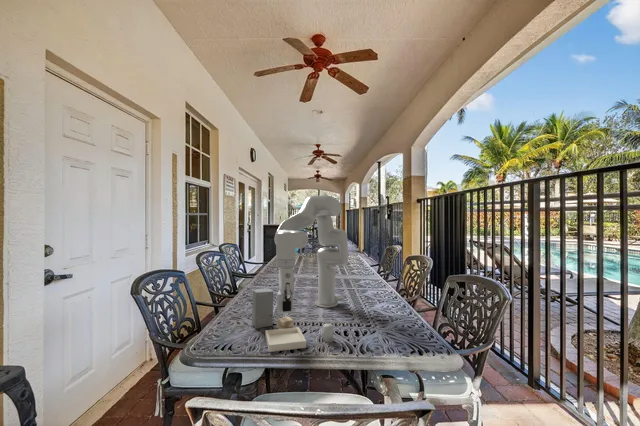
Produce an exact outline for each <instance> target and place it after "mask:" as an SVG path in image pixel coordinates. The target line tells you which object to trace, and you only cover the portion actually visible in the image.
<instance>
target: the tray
mask: <svg viewBox="0 0 640 426" xmlns="http://www.w3.org/2000/svg"><path fill="white" fill-rule="evenodd" d="M264 336H265V340H266V345H267V348H268V353H269V352H270V353H271V352H272V353H273V352H280V351H281V352H282V351H289V350H297V349H305V348H307V340H306V338H305V336H304V334H303V332H302V331H301V329H300V327H299V326H296V327H294V326H293V328H284V329H278V328H276V329H266V330H265V335H264Z"/></svg>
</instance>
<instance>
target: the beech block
mask: <svg viewBox="0 0 640 426" xmlns="http://www.w3.org/2000/svg"><path fill="white" fill-rule="evenodd" d="M284 328H294V319H293V318H291V317H290V316H285V317H284V316H283V317H279V318H277V329H284Z"/></svg>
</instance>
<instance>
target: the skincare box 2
mask: <svg viewBox="0 0 640 426" xmlns="http://www.w3.org/2000/svg"><path fill="white" fill-rule="evenodd" d="M290 292H291V291H290ZM284 293H287V292H286V291H285V292H284ZM276 295H277V296H276V297H277V298H276V301H277V303H276V313H277V314H293V311H294V293H292V292H291V311H286V312H283V301H284V300H283V294H282V293H281V291H280V290H278V292H277V294H276ZM285 296H286V295H285Z"/></svg>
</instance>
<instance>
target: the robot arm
mask: <svg viewBox="0 0 640 426" xmlns="http://www.w3.org/2000/svg"><path fill="white" fill-rule="evenodd" d="M341 212H342V204H341V201H339V199H337V198H335V197H333V196H332V195H331V196H330V195H310V196H307V198H305V200H304V202H303V204H302V205H301V207H300V209H299V210H298V212H297V213H295V214H293V215H291V216H290V217H288V218H286V219H285V220H283V221H282V222H281V223H280V225H279V226H278V228H277V230H276V232H275V235H274V238H273V239H274V241H273V242H274V245H275V248H276V249H275V251H276V252H275V254H276V255H275V268H278V289H279V291H281V293H282V294H283V300H284V301H283V312H286V311H291V292H292V293H293V294H295V274H294V269H295V267H296V249H304V248H305V247H306V246H307V245H308V244H309V236H308V233H307V232H305V231H304V230H302V229H305V228H308V227H310V226H312V225H313V224H314V223H315V221H316V224H317V237H318V243H319V245H320V246H323V247H321V248H318V250H317V251H316V261H317V269H318V271H317V273H318V275H317V281H318V284H317V300H315V302H314V304H315V305H316V307H320V308H326V309H327V308H335V307H337V306H338V304H339V302H340V301H344V296H337V295H336V270H335V269H334V267H333V266H337V267H344V266H346V265H348V262H349V245H348V244H349V243H348V234H347V232H346V231H345V230H344V229H342V228H336V229H335V228H334V221H333V218H332V217H337V216H339V215H340V214H341ZM336 247H337V248H336ZM285 291H286V292H287V293H284V292H285ZM290 291H291V292H290ZM285 295H286V296H285Z"/></svg>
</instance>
